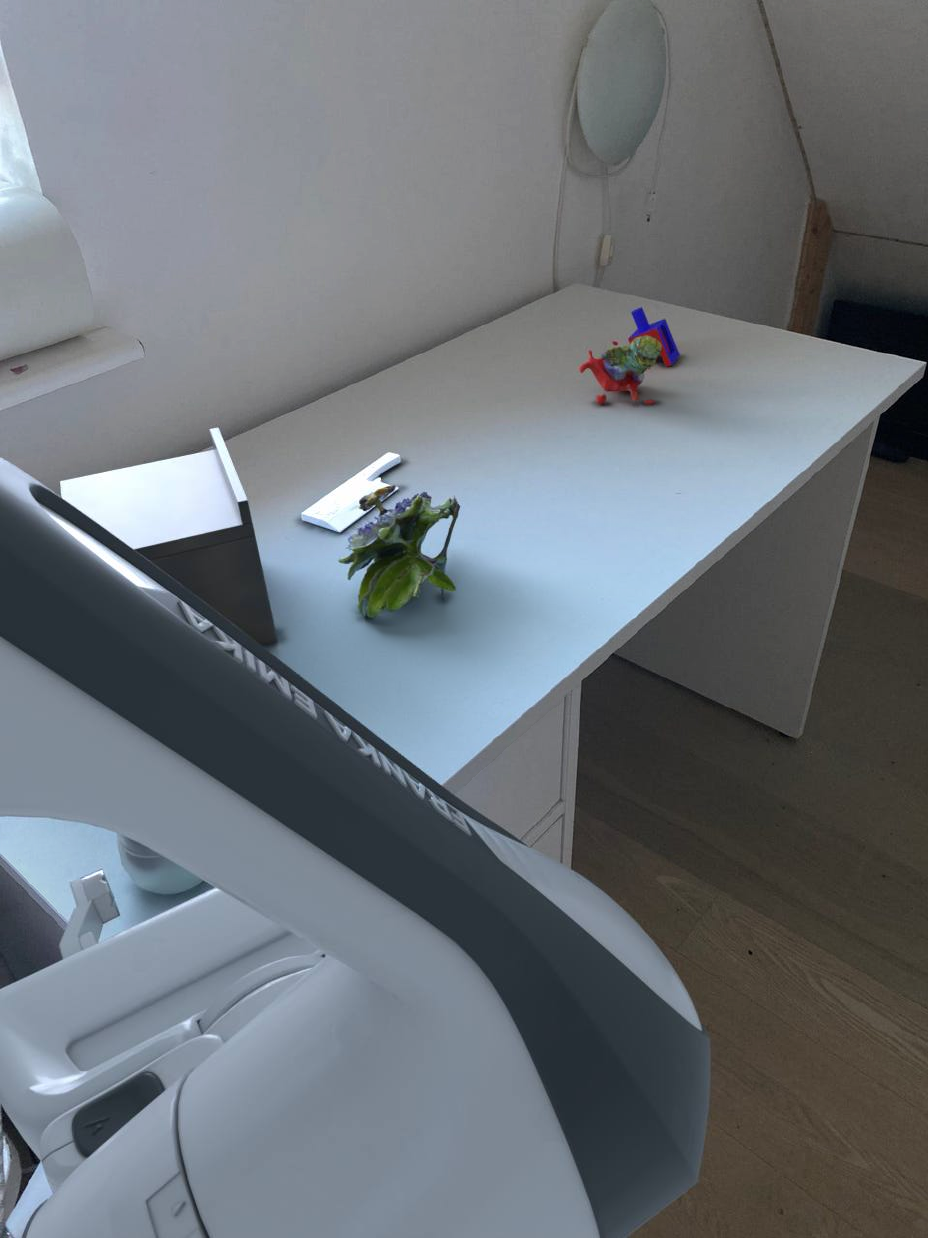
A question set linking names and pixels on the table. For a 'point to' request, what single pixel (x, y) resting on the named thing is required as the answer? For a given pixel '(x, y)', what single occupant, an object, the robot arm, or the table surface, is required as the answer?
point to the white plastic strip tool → (350, 497)
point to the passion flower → (398, 551)
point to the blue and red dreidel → (656, 335)
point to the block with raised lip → (187, 528)
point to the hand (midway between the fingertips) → (189, 838)
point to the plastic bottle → (153, 869)
